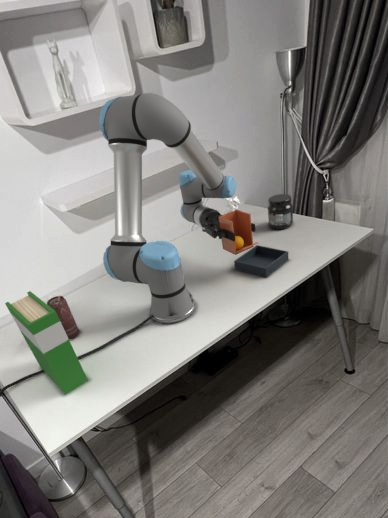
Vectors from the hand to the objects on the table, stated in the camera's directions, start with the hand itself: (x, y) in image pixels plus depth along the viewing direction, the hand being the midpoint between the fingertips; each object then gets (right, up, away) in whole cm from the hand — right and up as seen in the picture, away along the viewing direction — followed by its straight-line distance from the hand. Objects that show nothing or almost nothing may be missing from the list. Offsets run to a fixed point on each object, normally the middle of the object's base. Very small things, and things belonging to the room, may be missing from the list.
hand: (244, 232), depth 137 cm
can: (-59, -35, -1) cm, 68 cm away
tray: (+8, -8, +14) cm, 18 cm away
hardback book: (-56, -47, -17) cm, 75 cm away
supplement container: (+21, +14, +39) cm, 46 cm away
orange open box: (0, -4, +6) cm, 8 cm away
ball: (-2, -2, +4) cm, 5 cm away
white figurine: (+1, +21, +53) cm, 57 cm away
